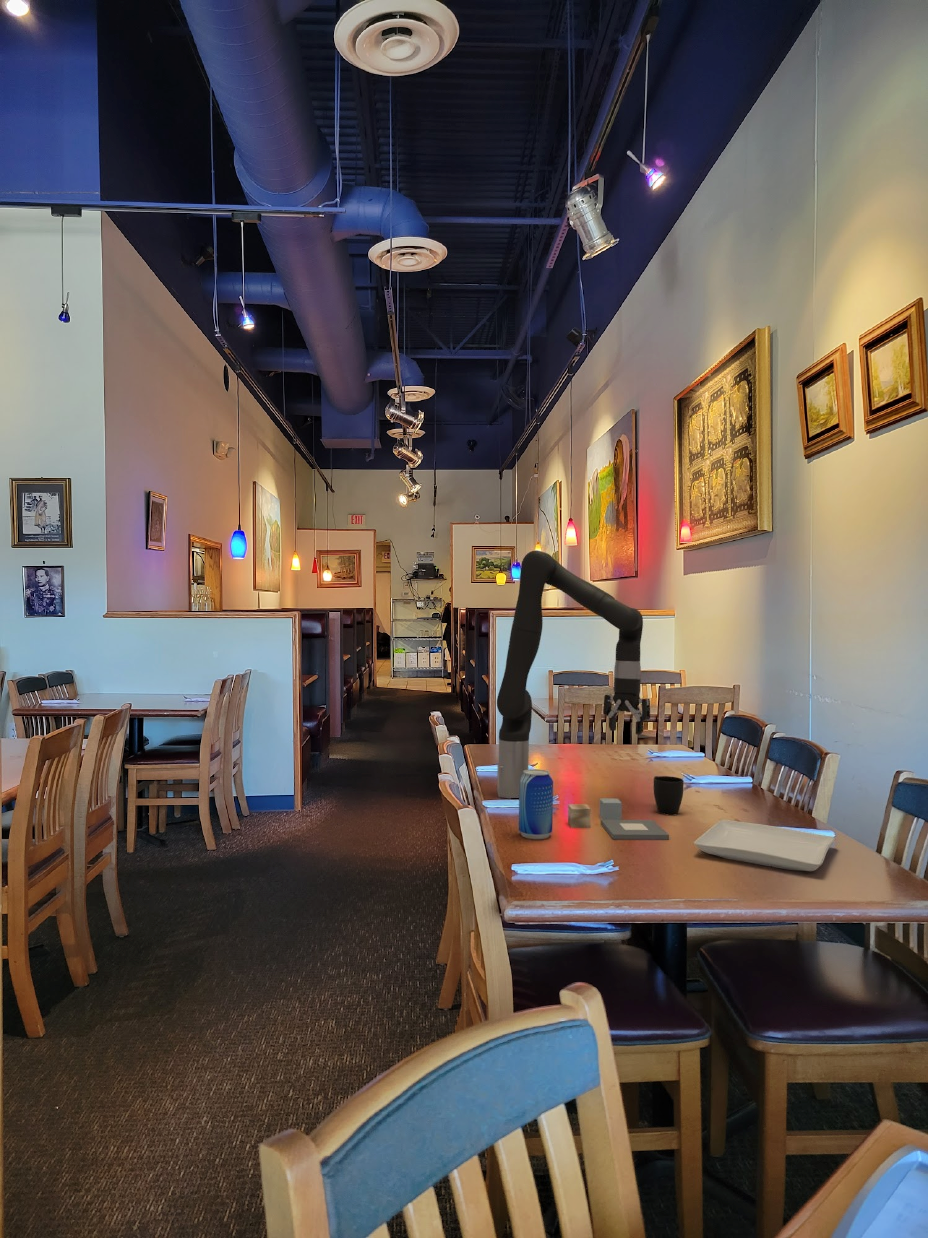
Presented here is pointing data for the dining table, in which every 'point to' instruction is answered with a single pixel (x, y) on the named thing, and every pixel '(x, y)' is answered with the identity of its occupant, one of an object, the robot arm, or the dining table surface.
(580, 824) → the maple cube
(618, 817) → the bluegrey cube
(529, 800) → the beer can
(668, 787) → the mug
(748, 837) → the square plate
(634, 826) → the board
